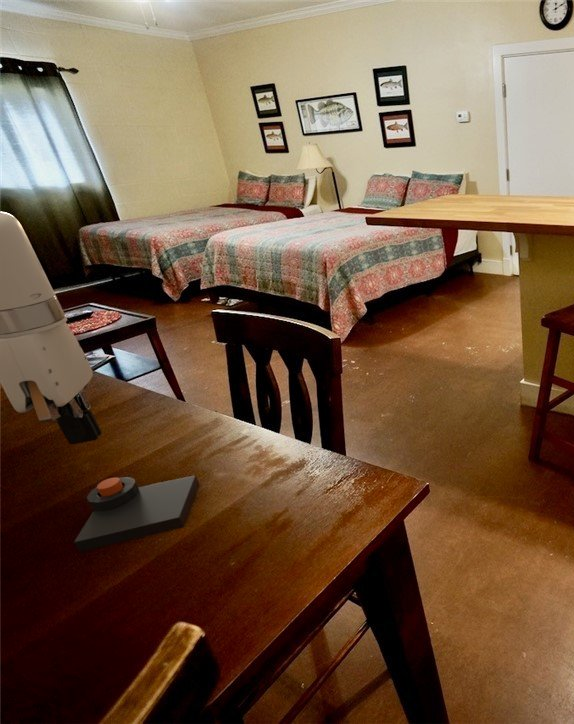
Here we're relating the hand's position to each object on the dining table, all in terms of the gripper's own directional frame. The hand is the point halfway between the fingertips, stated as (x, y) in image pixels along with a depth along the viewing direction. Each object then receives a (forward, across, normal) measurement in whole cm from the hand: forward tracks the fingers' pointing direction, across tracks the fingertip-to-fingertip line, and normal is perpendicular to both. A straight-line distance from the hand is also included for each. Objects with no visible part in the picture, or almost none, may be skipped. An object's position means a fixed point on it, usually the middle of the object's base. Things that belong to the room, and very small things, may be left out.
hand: (86, 438), depth 66 cm
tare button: (+9, 0, 0) cm, 9 cm away
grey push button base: (+13, +3, +4) cm, 14 cm away
